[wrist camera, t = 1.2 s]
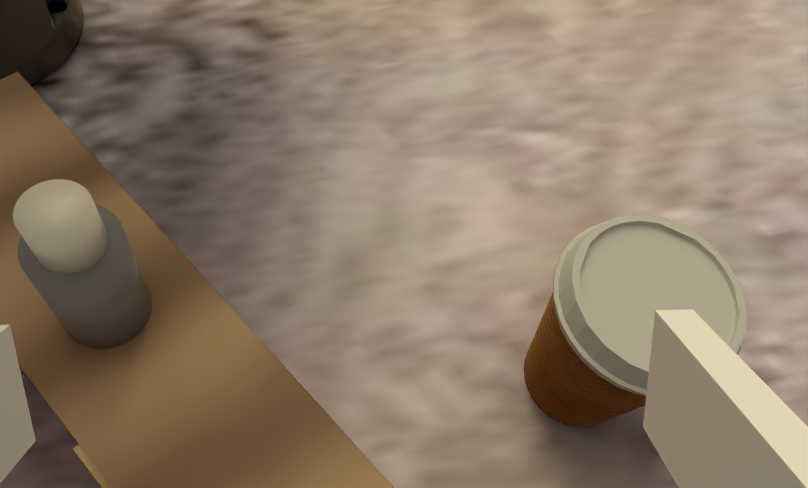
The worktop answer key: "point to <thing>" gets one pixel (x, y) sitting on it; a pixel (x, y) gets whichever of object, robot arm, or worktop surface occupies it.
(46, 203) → the grey bottle
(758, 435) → the robot arm
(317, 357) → the worktop surface
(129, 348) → the mount
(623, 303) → the disposable coffee cup
